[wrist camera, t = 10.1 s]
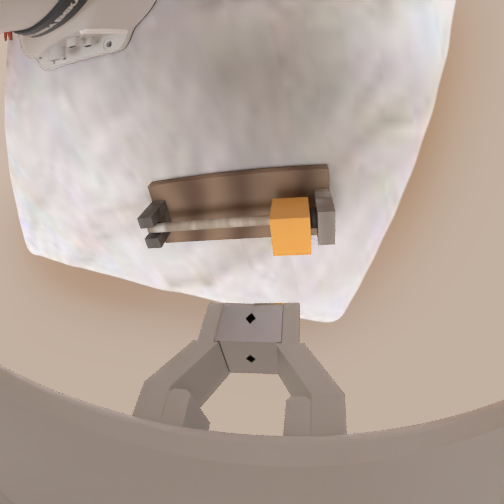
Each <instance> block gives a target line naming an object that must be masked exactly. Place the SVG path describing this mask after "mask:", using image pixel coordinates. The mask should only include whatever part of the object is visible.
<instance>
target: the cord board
mask: <svg viewBox="0 0 504 504" xmlns="http://www.w3.org/2000/svg"><path fill="white" fill-rule="evenodd" d="M148 189H149V192H150V196H151V199H152V203H151V204H150V205H149V206H148V207H147V208H146V209H145V211H144V212H143V213H142V214H141V215H140V216H139V217H138V222H139V225H140V228H147V229H148V232H149V234H148V235H147V237H146V238H145V241H146V244H147V246H148V248H161V247H162V246H163V244H164V243H165V242H166V243H170V242H187V241H204V240H222V239H241V238H261V237H271V230H270V222H269V217H270V211H271V206H272V199H278V198H296V197H308V202H309V212H310V228H311V235H317V236H318V245H329V244H335V209H334V205H333V201H332V198H331V194H330V190H329V175H328V167H327V165H310V166H292V167H277V168H264V169H252V170H241V171H231V172H222V173H213V174H205V175H197V176H190V177H182V178H176V179H169V180H162V181H156V182H152V183H151V184H150V185H149V186H148Z"/></svg>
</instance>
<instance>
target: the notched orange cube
mask: <svg viewBox="0 0 504 504" xmlns="http://www.w3.org/2000/svg"><path fill="white" fill-rule="evenodd" d="M269 222H270V230H271V238H272V247H273V255H274V256H283V255H307V254H311V228H310V212H309V202H308V197H296V198H278V199H272V206H271V211H270V217H269Z"/></svg>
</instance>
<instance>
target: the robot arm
mask: <svg viewBox="0 0 504 504" xmlns="http://www.w3.org/2000/svg"><path fill="white" fill-rule="evenodd" d="M155 1H156V0H0V33H4V38H5V41H6V40H7V33H8V36H9V39H10V40H12V32H15V33H17V34H19V40H20V44H21V48H22V50H23V52H24V54H25V55H26V56H27V57H29V58H36V60H37V62H38V64H39V65H40V67H41V68H42V69H43V70H45V71H47V70H52V69H55V68H58V67H62V66H65V65H68V64H71V63H75V62H78V61H82V60H85V59H89V58H93V57H97V56H101V55H105V54H110V53H114V52H119V51H122V50H123V49H124V48H125V47H126V46H127V44H128V42H129V40H130V37H131V35H132V32H133V30H134V28H135V27H136V26H137V24H138V23H139V22H140V21H141V20H142V19H143V18H144V17H145V15H146V14H147V13H148V12H149V10H150V9H151V7H152V6H153V4H154V3H155ZM110 42H112V45H111V46H109V44H110ZM229 372H231V373H263V374H279V376H280V378H281V380H282V381H283V383H284V385H285V386H286V388H287V390H288V391H289V393H290V395H291V397H290V398H289V399H287V400H286V410H285V421H284V422H285V423H284V433H283V436H264V435H248V434H236V433H235V434H234V433H225V432H216V431H209V424H210V422H209V421H208V419H207V418H206V416H205V415H204V414H203V412H202V411H201V409H200V407H201V406H202V405H203V404H204V403H205V402H206V401H207V399H208V398H209V397H210V396H211V395H212V394H213V393H214V391H215V390H216V389H217V388H218V387H219V386H220V385H221V383H222V382H223V381H224V380H225V379H226V377H227V376H228V375H229ZM0 504H504V400H502V401H499V402H496V403H494V404H491V405H488V406H485V407H482V408H479V409H476V410H473V411H469V412H466V413H462V414H459V415H455V416H452V417H448V418H444V419H440V420H436V421H431V422H427V423H422V424H417V425H412V426H407V427H401V428H396V429H388V430H382V431H374V432H365V433H357V434H356V433H355V434H347V431H346V409H345V394H344V392H343V391H342V390H341V389H340V388H339V386H338V385H337V384H336V382H335V381H333V379H332V377H331V376H330V375H329V374H328V372H327V371H326V370H325V369H324V367H323V366H322V365H321V364H320V362H319V361H318V360H317V359H316V357H315V356H314V355H313V354H312V352H311V351H310V350H309V348H308V347H307V346H306V345H305V343H300V304H299V303H255V304H242V303H210V304H209V305H208V307H207V311H206V314H205V317H204V320H203V324H202V327H201V330H200V334H199V337H198V340H193V341H192V342H191V343H190V344H188V345H187V346H186V347H185V348H184V349H183V350H181V351H180V352H179V353H178V354H177V355H176V356H174V357H173V358H172V359H171V360H170V361H168V362H167V363H166V364H165V365H164V366H163V367H161V368H160V369H159V370H158V371H157V372H156V373H154V374H153V375H152V376H151V377H149V378H148V379H147V380H146V381H145V382H144V384H143V387H142V389H141V392H140V395H139V398H138V401H137V403H136V406H135V409H134V412H133V415H132V416H131V415H127V414H124V413H120V412H116V411H113V410H109V409H106V408H103V407H100V406H96V405H93V404H90V403H87V402H84V401H82V400H78V399H76V398H73V397H70V396H68V395H65V394H63V393H60V392H57V391H55V390H53V389H50V388H48V387H45V386H43V385H41V384H38V383H36V382H34V381H31V380H30V379H27V378H25V377H23V376H21V375H19V374H17V373H15V372H13V371H11V370H9V369H7V368H5V367H3V366H1V365H0Z"/></svg>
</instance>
